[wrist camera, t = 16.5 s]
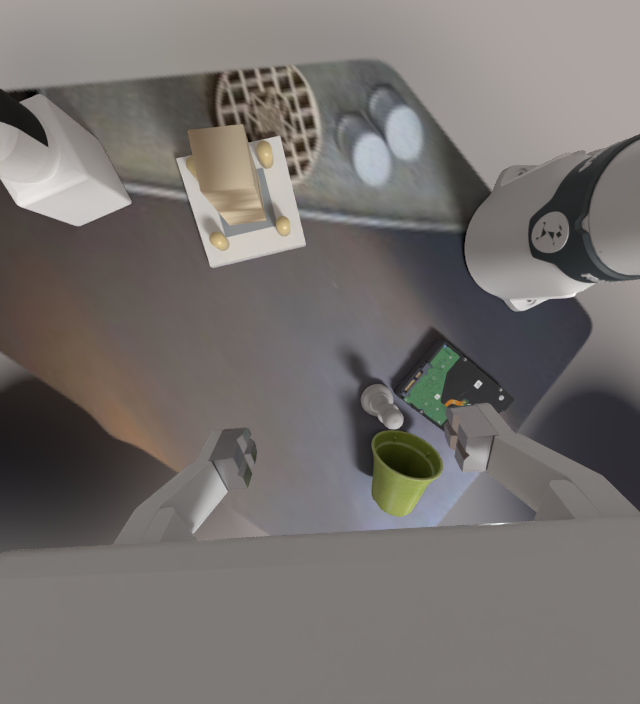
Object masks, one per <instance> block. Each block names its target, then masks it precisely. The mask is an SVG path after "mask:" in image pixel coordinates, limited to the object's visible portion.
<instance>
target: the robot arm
mask: <svg viewBox="0 0 640 704" xmlns="http://www.w3.org/2000/svg"><path fill="white" fill-rule="evenodd" d="M465 258H466V263H467V267H468V269H469V272H470V274H471V276H472V277H473V279H474V280H475V282H476V283H477V284H478V285H479V286H480V287H481V288H482V289H484V290H485V291H487V292H488V293H490V294H493V295H495V296H498V297H500V298H501V299H503V300H504V302H505V303H506V304H507V305H508V306H509V307H510V308H511V309H512V310H513V311H524V310H527V309H529V308H531V307H533V306H535V305H537V304H539V303H541V302H544V301H546V300H548V299H555V298H568V297H573V296H575V295H576V293H578V292H581V291H583V290H585V289H587V288H589V287H590V286H592V285H594V284H595V283H618V282H625V281H627V280H637V279H640V134H639V135H637V136H634V137H632V138H630V139H626V140H624V141H621V142H618V143H616V144H613V145H611V146H609V147H607V148H604V149H599V150H596V151H593V152H590V153H588V154H585V151H578V152H575V153H573V154H571V153H565V154H563V155H561V156H558V157H556V158H554V159H552V160H550V161H548V162H546V163H544V164H542V165H540V166H511V167H509V168H507V169H505V170H503V171H502V173H501V174H500V176H499V177H498V180H497V182H496V184H495V187H494V189H493V191H492V193H491V194H490V195H489V197H488V198H487V199H486V200H485V201H484V202H483V203H482V204H481V205H480V207H479V208H478V209H477V211H476V212H475V214H474V215H473V217H472V219H471V221H470V224H469V226H468V230H467V233H466V238H465ZM527 300H528V301H527ZM445 415H446V417H447V419H448V420H447V421H446V422H445V424H444V431H445V437H446V440H447V443H448V445H449V447H450V448H452V449H453V450H455V459H456V461H457V463H458V465H459V467H460V468H461V470H462V472H475V471H487V473H488V474H490V475H491V476H492V477H493V478H495V479H496V480H497V481H498V482H500V483H501V484H502V485H503V486H505V487H506V488H507V489H508V490H510V491H511V492H512V493H513V494H515V495H516V496H517V497H519V498H520V499H521V500H522V501H523V502H525V503H526V504H527V505H528V506H530V507H531V508H532V509H533V510H535V511H536V512H537V514H536V517H535V519H534V521H528V522H512V523H493V524H475V525H457V526H440V527H422V528H405V529H387V530H370V531H352V532H335V533H317V534H299V535H281V536H266V537H265V536H264V537H246V538H229V539H211V540H197V539H196V537H195V536H194V535H193V534H194V532H195V531H196V530H197V529H198V527H199V526H200V525H201V524H202V523H203V521H204V520H205V519H206V518H207V517H208V515H209V514H210V513H211V511H212V510H213V509H214V508H215V507H216V505H217V504H218V503H219V502H220V501H221V499H222V498H223V497H224V496H225V495H226V493H227V492H228V490H238V489H247V488H248V486H249V482H250V479H251V475H252V472H251V470H250V468H251V467H252V466H253V465H254V464H255V461H256V455H257V450H256V445H255V442H254V441H253V440H252V439H250V436H251V432H250V430H249V428H235V429H224V430H213V431H212V432H211V433H210V435H209V437H208V439H207V441H206V443H205V444H204V446H203V448H202V450H201V452H200V454H199V456H198V458H197V460H196V462H193V463H191V464H190V465H188V466H187V467H186V468H185V469H183V470H182V471H181V472H180V473H179V474H177V475H176V476H175V477H174V478H173V479H171V480H170V481H169V482H168V483H167V484H165V485H164V486H163V487H162V488H160V489H159V490H158V491H157V492H156V493H154V494H153V495H152V496H151V497H149V498H148V499H147V500H146V501H144V502H143V503H142V504H141V505H140V506H138V507H137V508H136V509H135V511H134V512H133V514H132V515H131V517H130V519H129V520H128V522H127V523H126V525H125V526H124V528H123V530H122V531H121V533H120V534H119V536H118V537H117V539H116V541H115V542H114V544H113V545H105V546H104V545H103V546H85V547H67V548H52V549H51V548H50V549H33V550H32V549H29V550H13V551H7V552H4V553H1V554H0V704H640V512H639V511H637V509H636V508H635V507H634V506H633V505H632V504H631V503H630V502H629V501H628V500H627V499H626V498H625V497H624V496H623V495H622V494H621V493H620V492H619V491H618V490H616V488H614V487H613V485H611V483H610V482H608V481H607V480H606V479H605V478H604V477H603V476H602V475H600V474H598V473H596V472H594V471H592V470H590V469H588V468H586V467H584V466H582V465H580V464H578V463H576V462H574V461H572V460H570V459H569V458H567V457H565V456H563V455H561V454H559V453H556V452H555V451H553V450H551V449H549V448H547V447H545V446H543V445H541V444H539V443H537V442H535V441H533V440H531V439H529V438H527V437H525V436H523V435H521V434H515V433H514V432H513V431H512V429H511V428H510V427H509V426H508V425H507V423H506V422H505V421H504V420H503V419H502V417H501V416H500V415H499V414H498V413H497V411H496V410H495V409H494V408H493V407H492V405H491V404H489V403H481V404H474V405H464V406H454V407H447V409H446V413H445Z"/></svg>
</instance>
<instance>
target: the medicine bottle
mask: <svg viewBox="0 0 640 704" xmlns="http://www.w3.org/2000/svg"><path fill="white" fill-rule="evenodd" d="M0 179H1V180H2V182H3V184H4V185H5V187H6V188H7V190H8V191H9V193H10V195H11V196H12V198H13V199H14V201H15V203H16V204H17V205H18V206H20V207H23V208H26V209H28V210H31V211H34V212H37V213H40V214H43V215H46V216H49V217H52V218H55V219H57V220H60V221H63V222H66V223H69V224H72V225H75V226H82V225H84V224H86V223H89V222H91V221H93V220H95V219H98V218H100V217H102V216H105V215H107V214H109V213H112V212H114V211H116V210H119V209H121V208H123V207H125V206H128V205H130V204H131V203H132V201H131V199H130V197H129V195H128V193H127V192H126V190H125V188H124V186H123V184H122V182H121V180H120V179H119V177H118V175H117V173H116V171H115V169H114V167H113V166H112V164H111V162H110V160H109V158H108V156H107V154H106V153H105V151H104V149H103V147H102V145H101V143H100V142H99V140H98V139H96V138H95V137H94V136H93V135H91V134H90V133H89V132H88V131H87V130H85V129H84V128H83V127H82V126H80V125H79V124H78V123H77V122H76V121H74V120H73V119H72V118H71V117H70V116H68V115H67V114H66V113H65V112H63V111H62V110H61V109H60V108H59V107H57V106H56V105H55V104H54V103H52V102H51V101H50V100H49V99H48V98H46V97H45V96H43V95H41V94H38V95H35V96H33V97H30V98H28V99H26V100H23V101H21V102H18V101H17V100H15V99H14V98H12V97H11V96H10V95H8V94H7V93H6V92H4V91H3V90H1V89H0Z"/></svg>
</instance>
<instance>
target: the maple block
mask: <svg viewBox="0 0 640 704" xmlns="http://www.w3.org/2000/svg"><path fill="white" fill-rule="evenodd" d="M187 133H188V137H189V142H190V146H191V151H192V155H193V160H194V164H195V169H196V173H197V178H198V183H199V187H200V191H201V192H202V194H203V195H204V196H205V197H206V198H207V200H208V201H209V202H210V203H211V204H212V205H213V207H214V208H215V209H216V210H217V211H218V212H219V214H220V215H221V216H222V217H223V218H224V219H225V221H226V222H227V223H228V224H229V225H237V224H245V223H252V222H260V221H266V215H265V210H264V204H263V198H262V193H261V187H260V182H259V178H258V174H257V171H256V167H255V164H254V160H253V157H252V154H251V150H250V147H249V143H248V140H247V136H246V133H245V129H244V126H243V124H240V125H231V126H221V127H212V128H203V129H194V130H187Z"/></svg>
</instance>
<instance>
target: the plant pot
mask: <svg viewBox="0 0 640 704" xmlns="http://www.w3.org/2000/svg"><path fill="white" fill-rule="evenodd" d="M371 446H372V451H373V457H374V469H373V481H372V497H373V499H374V500H375V501H376V503H377V504H378V506H379V507H380V508H381V509H382V510H383V511H384V512H386V513H388V514H390V515H393V516H398V517H402V516H404V515H407V514H409V513H411V511H412V510H413V508H414V507H415V505H416V503H417V502H418V500H419V498H420V497H421V495H422V494H423V492H424V490H425V489H426V487H427V485H428V484H430V483H431V482H432V481H433V480H434V479H436V478H438V477H439V476H440V474H441V473H442V470H443V462H442V459H441V457H440V455H439V454H438V452H437V451H436V450H435V449H434V448H433V447H432V446H431V445H430V444H429V443H427V442H426V441H425V440H423V439H421V438H419V437H417V436H415V435H413V434H410V433H407V432H404V431H399V430H386V431H382V432H379V433H377V434H376V435H375V436H374V437H373V440H372V445H371Z"/></svg>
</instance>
